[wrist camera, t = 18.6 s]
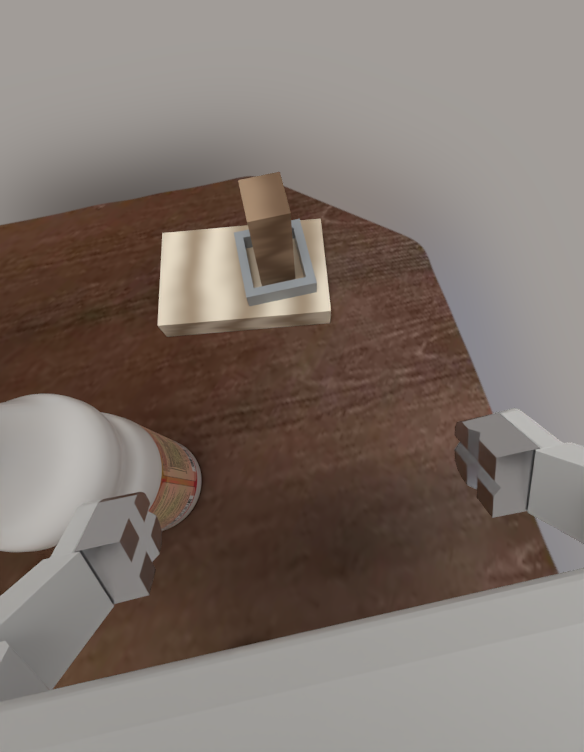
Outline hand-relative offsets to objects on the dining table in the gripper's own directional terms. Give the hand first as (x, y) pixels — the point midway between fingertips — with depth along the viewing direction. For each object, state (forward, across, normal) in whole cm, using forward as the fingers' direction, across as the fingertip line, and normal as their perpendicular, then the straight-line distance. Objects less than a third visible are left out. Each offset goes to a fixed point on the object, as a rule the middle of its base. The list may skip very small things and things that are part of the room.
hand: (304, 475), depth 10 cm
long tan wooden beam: (+39, -2, +1) cm, 39 cm away
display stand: (+41, +2, +3) cm, 41 cm away
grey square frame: (+39, -2, +1) cm, 39 cm away
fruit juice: (+26, +16, +19) cm, 35 cm away
